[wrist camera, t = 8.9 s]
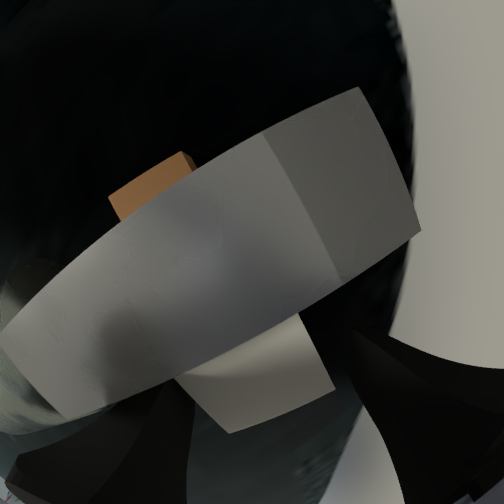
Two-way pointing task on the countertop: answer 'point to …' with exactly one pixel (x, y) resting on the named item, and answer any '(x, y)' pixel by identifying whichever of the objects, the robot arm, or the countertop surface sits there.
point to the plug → (247, 354)
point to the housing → (203, 265)
